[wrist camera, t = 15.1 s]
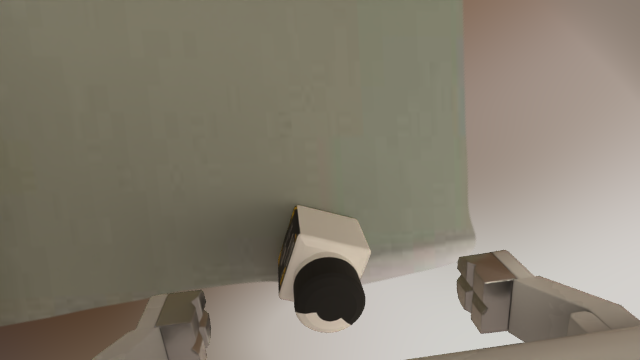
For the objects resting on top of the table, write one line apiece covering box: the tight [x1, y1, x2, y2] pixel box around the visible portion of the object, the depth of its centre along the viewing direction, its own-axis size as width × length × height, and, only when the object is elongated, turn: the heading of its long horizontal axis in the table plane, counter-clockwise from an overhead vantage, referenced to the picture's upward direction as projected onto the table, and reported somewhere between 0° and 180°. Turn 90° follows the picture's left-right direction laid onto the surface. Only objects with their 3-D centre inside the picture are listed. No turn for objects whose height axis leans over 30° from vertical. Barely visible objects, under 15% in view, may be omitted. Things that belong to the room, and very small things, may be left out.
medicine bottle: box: [278, 205, 371, 333], centre depth 40 cm, size 7×7×12 cm
